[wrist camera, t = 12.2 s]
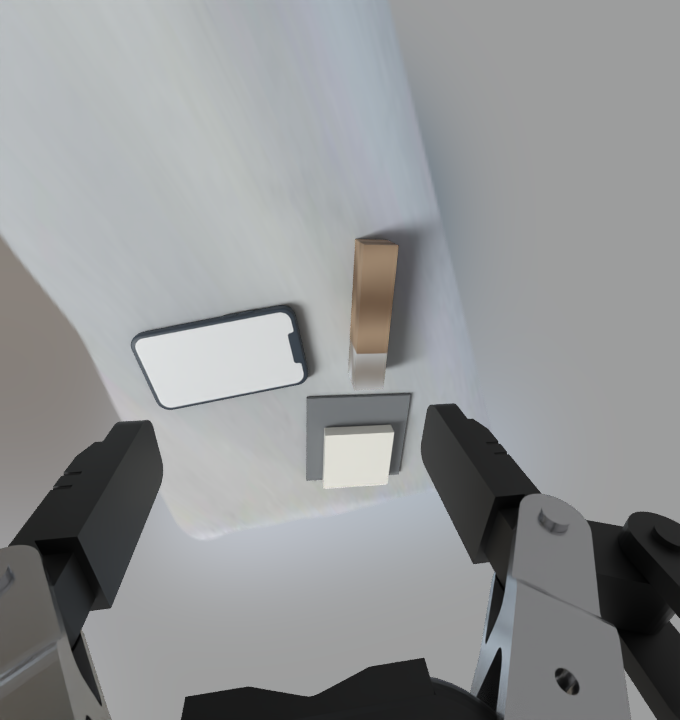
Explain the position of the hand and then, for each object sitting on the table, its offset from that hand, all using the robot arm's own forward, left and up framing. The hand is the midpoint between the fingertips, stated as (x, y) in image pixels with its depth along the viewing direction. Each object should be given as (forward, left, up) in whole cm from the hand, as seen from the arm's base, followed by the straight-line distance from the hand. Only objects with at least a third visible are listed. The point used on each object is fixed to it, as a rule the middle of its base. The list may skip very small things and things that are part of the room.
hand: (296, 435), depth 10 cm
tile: (+18, +8, -24) cm, 31 cm away
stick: (+4, +8, -25) cm, 27 cm away
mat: (+20, +8, -25) cm, 33 cm away
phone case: (+9, -7, -26) cm, 28 cm away
